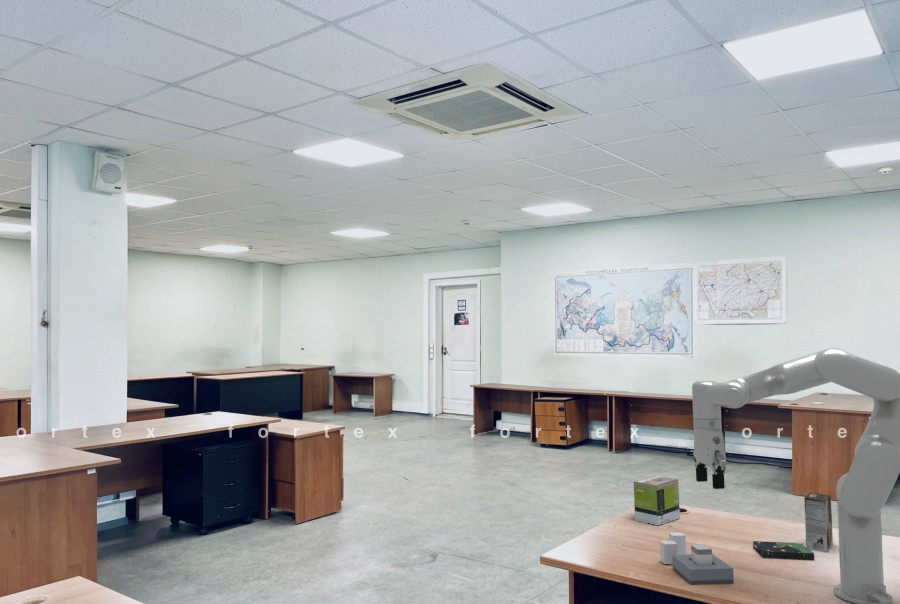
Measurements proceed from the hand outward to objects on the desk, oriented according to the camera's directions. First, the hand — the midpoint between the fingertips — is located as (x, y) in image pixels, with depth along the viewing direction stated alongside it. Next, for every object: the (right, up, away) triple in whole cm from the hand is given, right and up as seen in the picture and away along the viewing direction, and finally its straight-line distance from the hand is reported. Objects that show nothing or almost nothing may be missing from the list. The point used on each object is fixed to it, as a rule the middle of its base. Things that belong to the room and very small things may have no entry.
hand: (710, 484), depth 186 cm
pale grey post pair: (-7, -26, +12) cm, 29 cm away
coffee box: (+44, -26, +22) cm, 56 cm away
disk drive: (+29, -27, +16) cm, 42 cm away
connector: (-3, -24, -3) cm, 24 cm away
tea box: (+2, -28, +54) cm, 61 cm away
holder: (-3, -25, -3) cm, 25 cm away
